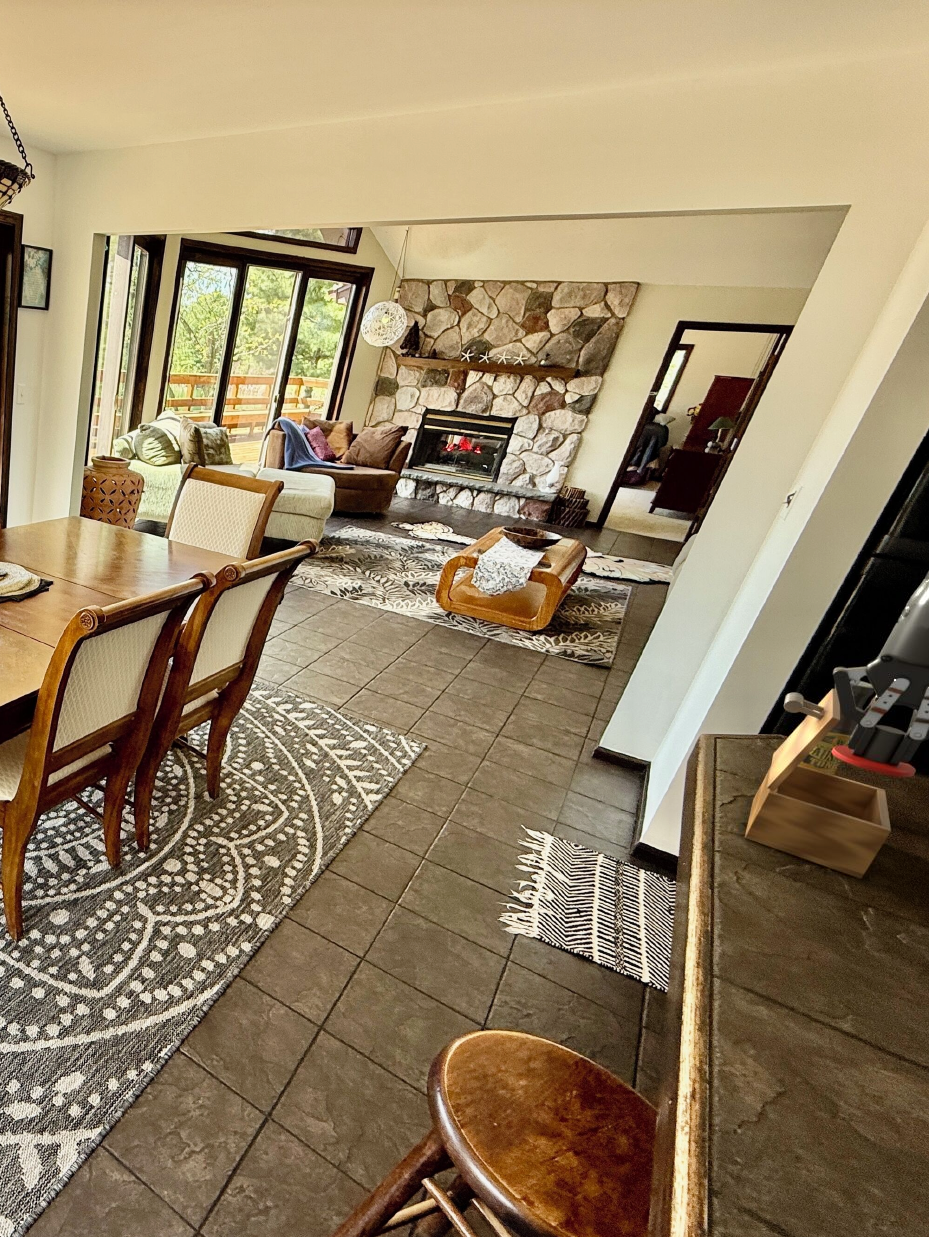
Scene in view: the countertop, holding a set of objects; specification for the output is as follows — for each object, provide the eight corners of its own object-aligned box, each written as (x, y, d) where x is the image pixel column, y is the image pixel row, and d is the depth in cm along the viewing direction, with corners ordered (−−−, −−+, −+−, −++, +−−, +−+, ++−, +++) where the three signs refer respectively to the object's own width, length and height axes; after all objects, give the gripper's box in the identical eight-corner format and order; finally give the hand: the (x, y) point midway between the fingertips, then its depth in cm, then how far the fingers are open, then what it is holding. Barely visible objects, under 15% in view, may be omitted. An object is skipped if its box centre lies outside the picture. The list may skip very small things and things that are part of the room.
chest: (858, 834, 104) (885, 789, 101) (861, 879, 93) (891, 830, 90) (753, 800, 112) (775, 758, 109) (744, 837, 101) (768, 792, 98)
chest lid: (839, 691, 102) (797, 675, 105) (840, 720, 92) (793, 701, 94) (779, 756, 108) (741, 740, 111) (773, 791, 98) (731, 771, 101)
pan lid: (900, 761, 86) (920, 728, 84) (923, 783, 81) (945, 748, 79) (823, 744, 89) (841, 712, 88) (841, 764, 84) (860, 730, 82)
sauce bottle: (782, 795, 114) (842, 685, 106) (758, 777, 119) (813, 671, 112) (832, 804, 112) (896, 692, 105) (805, 785, 118) (864, 678, 110)
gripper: (1045, 635, 76) (958, 772, 83) (859, 604, 85) (794, 729, 92) (1059, 648, 71) (966, 792, 78) (861, 614, 81) (792, 745, 87)
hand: (873, 757), depth 85 cm, fingers closed on pan lid, 2 cm apart
